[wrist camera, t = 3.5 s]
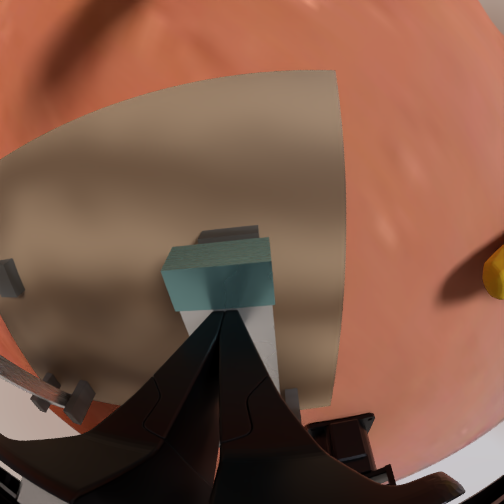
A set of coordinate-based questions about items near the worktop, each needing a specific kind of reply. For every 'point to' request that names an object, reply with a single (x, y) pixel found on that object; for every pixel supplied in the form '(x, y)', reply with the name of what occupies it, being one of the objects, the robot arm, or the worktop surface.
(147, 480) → the robot arm
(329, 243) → the jig board
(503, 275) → the torch
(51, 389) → the bar
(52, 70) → the worktop surface
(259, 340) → the bar
